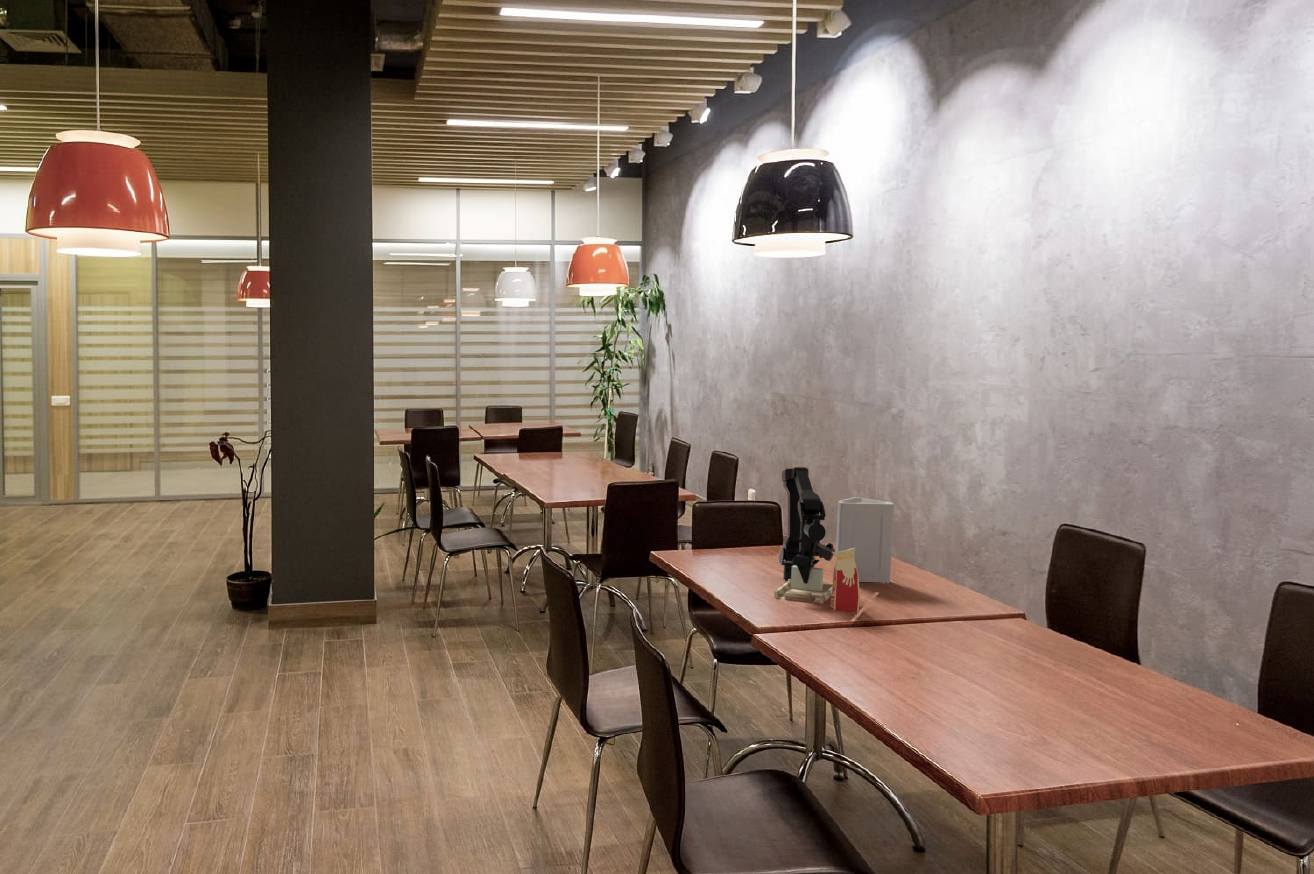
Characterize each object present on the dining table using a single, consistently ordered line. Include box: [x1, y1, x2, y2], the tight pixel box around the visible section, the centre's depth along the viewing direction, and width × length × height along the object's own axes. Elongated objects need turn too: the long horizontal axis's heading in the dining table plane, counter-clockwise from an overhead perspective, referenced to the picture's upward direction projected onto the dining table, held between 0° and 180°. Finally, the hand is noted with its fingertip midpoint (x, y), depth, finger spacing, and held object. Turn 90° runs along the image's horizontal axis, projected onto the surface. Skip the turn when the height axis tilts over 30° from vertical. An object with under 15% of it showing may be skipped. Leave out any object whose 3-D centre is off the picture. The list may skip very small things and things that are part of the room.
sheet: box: [791, 565, 824, 591], centre depth 348 cm, size 2×10×7 cm, turn 68°
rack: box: [773, 579, 833, 604], centre depth 347 cm, size 18×16×4 cm
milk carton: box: [829, 548, 861, 614], centre depth 330 cm, size 9×9×20 cm
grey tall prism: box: [834, 497, 895, 583], centre depth 378 cm, size 19×15×28 cm
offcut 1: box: [785, 591, 812, 598], centre depth 340 cm, size 4×8×1 cm, turn 74°
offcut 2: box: [784, 596, 815, 603], centre depth 340 cm, size 4×9×1 cm, turn 68°
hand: (806, 582), depth 348 cm, fingers closed on sheet, 2 cm apart
